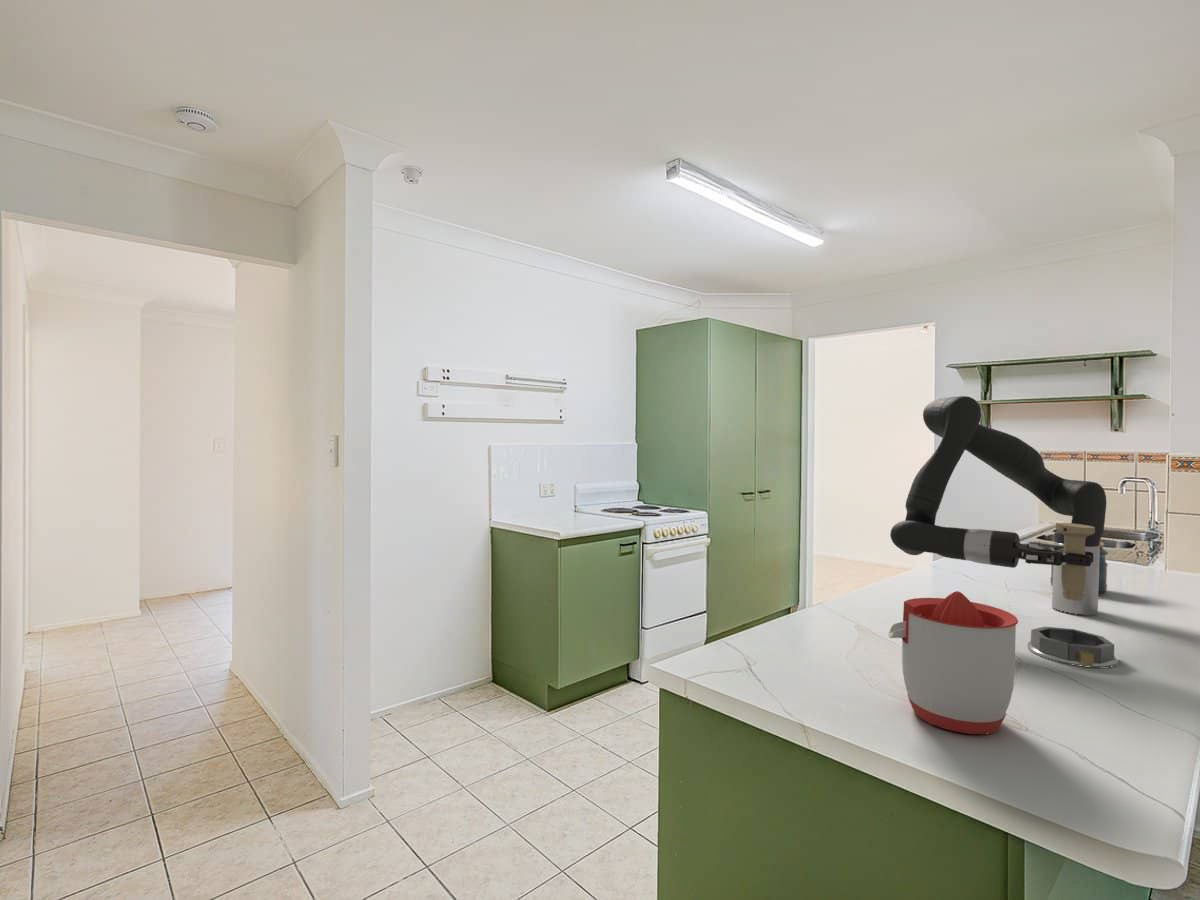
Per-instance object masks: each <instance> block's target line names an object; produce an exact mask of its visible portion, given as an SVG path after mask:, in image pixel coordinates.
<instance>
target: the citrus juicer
mask: <svg viewBox="0 0 1200 900" xmlns="http://www.w3.org/2000/svg"><path fill="white" fill-rule="evenodd" d="M902 612H903V613H902V615H903V616H902V621H899V622H895V623H893V624H892V626H891V627H890V630H889V632H888V638H889V639H902V642H901V643H902V644H901V646H902V647H901V648H902V649H901V662H902V663H901V665H902V667H901V668H902V675H903V681H904V685H905V689H906V692H907V698H908V700H909V704H910V705H911V708H912V710H913V713H915V715H917V716H918V718H920V719H921V720H923V721H925V722H928V723H929V724H928V723H927V724H928V725H930V724H932V725H935V726H934V727H937V726H938V727H939V728H942V729H943V730H944V729H945V730H948V731H952V732H956V733H963V734H970V735H984V734H987V733H989V734H993V733H994V732H996V731H998V730H999V728H1000V727H1001V726H1002V723H1003V721H1004V719H1005V718H1006V715H1007V710H1008V708H1009V705H1010V703H1011V699H1012V696H1013V695H1012V694H1013V691H1014V684H1015V673H1016V671H1015V669H1016V666H1015V665H1016V662H1015V661H1016V630H1017V629H1016V628H1017V625H1018V623H1019V620H1018V618H1017V616H1015V614H1013V613H1010V612H1009V611H1007V610H1004V609H1001V608H999V607H998V608H997V607H995V606H993V605H987V604H984V603H977V602H975V601H970V600H969V598H968V597H967V596H966V595H965V594H963V593H962V592H961V591H958V590H957V591H954V592H951V593H950V594H948V595H947V596H946V597H944V598H943V597H916V598H911V599H906V600H904V601H903V611H902ZM932 725H931V726H932ZM987 735H988V734H987Z"/></svg>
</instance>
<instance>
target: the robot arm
mask: <svg viewBox="0 0 1200 900" xmlns="http://www.w3.org/2000/svg"><path fill="white" fill-rule="evenodd" d="M922 418H923V419H922V420H923V422H924V424H925V426H926V427H927V428H928V430H929V431H930V432H931V433H933V434H934V435H936V436H938V437H940V438H941V440H940V443H939V445H938V447H936V450H935V451H934V453H932V455H931V456H930V457H929V459H928V460H927V461H926V462H925V463H924V464H923V466H921V468H920V469H919V470H918V472H917V474H916V475H915V477H914V478H913V481H912V483H911V487H910V489H909V491H908V494H907V497H906V501H905V509H906V515H905V516H906V517H905V519H904V520H901V521H899V522H897V523H896V524H894V525H893V526H892V527H891V529H890V534H889V535H890V536H889V537H890V539H891V541H892V543H893V544H894V546H895V547H896V548H898V549H900V550H901V551H902V552H904V554H905V553H906V554H907V555H911V556H919V555H922V554H923V553H931V554H937V555H939V556H940V557H944V558H946V559H947V558H948V559H955V560H961V561H967V562H972V563H977V564H983V565H990V566H998V567H1004V568H1010V569H1011V568H1013V569H1014V568H1015V569H1016V567H1017V566H1018V565H1019V560H1024V561H1025V563H1026V564H1030V565H1031V564H1037V565H1049V566H1051V565H1053V587H1052V594H1051V595H1052V597H1051V608H1052V607H1053V608H1052V609H1054V608H1055V609H1054V610H1056V609H1057V610H1056V611H1058V610H1060V611H1059V612H1062V611H1064V612H1063V613H1066V612H1069V613H1068V614H1071V613H1075V614H1074V615H1077V614H1084V615H1083V616H1096V614H1097V615H1098V613H1099V612H1098V611H1099V595H1098V590H1099V555H1100V541H1101V539H1102V536H1103V534H1104V531H1105V523H1106V511H1107V497H1106V496H1107V495H1106V491H1105V490H1104V488H1103V487H1102V485H1101V484H1100V483H1098V482H1094V481H1090V480H1089V481H1086V480H1076V479H1075V480H1074V479H1067V478H1063V477H1061V476H1058V475H1057V474H1055V473H1053V472H1052V471H1050V470H1048V468H1046V467H1045V463H1044V459H1043V457H1042V455H1041V454H1040V453H1039V451H1038V450H1037V449H1035V448H1034V447H1033V446H1031V445H1029V444H1028V443H1027V442H1025V441H1023V440H1022V439H1021V438H1020V437H1019V438H1018V437H1017V436H1014V435H1012V434H1009V433H1007V432H1004V431H1000V430H998V429H994V428H991V427H987V426H986V425H983V424H980V422H981V418H982V410H981V406H980V404H979V402H978V401H977V400H976V399H974V398H973V397H971V396H967V395H966V396H965V395H962V396H961V395H960V396H949V397H943V398H938V399H934V400H932V401H930V402H928V403H927V404H926V406H925V407H924V409H923V412H922ZM965 451H966V452H968V453H970V454H971V455H973V456H974V457H976V458H977V459H979V460H980V461H982V462H983V463H985V464H987V465H988V466H989V467H991V468H992V469H993V470H995V471H996V472H998V473H999V474H1000V475H1002V476H1004V477H1005V478H1007V479H1009V480H1011V481H1013V482H1014V483H1015V484H1017V485H1018V486H1020V487H1022V488H1023V489H1025V490H1027V491H1028V492H1030V493H1031V494H1032V495H1034V496H1035V497H1036V498H1037V499H1039V500H1040V502H1042V503H1044V504H1045V506H1047V507H1048V509H1050V510H1052V511H1053V512H1055V513H1057V514H1060V515H1063V516H1068V517H1071V522H1070V523H1072V524H1081V525H1088V526H1092V527H1095V533H1094V534H1092V535H1090V536H1087V537H1086V538H1085V554H1076V553H1068V554H1067V552H1065V551H1063V550H1064V535H1063V534H1062V533H1061V532H1059V531H1058V530H1057V529H1056V530H1055V531H1054V534H1053V544H1049V543H1043V542H1039V541H1038V542H1037V541H1029V542H1028V543H1021V542H1020V536H1019V534H1018V533H1017V532H1013V531H1001V530H993V529H983V528H982V529H981V528H978V529H977V528H976V529H975V528H973V529H972V528H963V527H962V528H961V527H951V526H940V525H937V524H936V517H937V513H938V511H939V509H940V505H941V503H942V501H943V498H944V494H945V492H946V488H947V486H948V484H949V481H950V478H951V477H952V474H953V472H954V471H955V468H956V467H957V465H958V464H959V461H960V459H961V458H962V456H963V454H964V452H965ZM1066 563H1067V564H1072V565H1080V566H1086V578H1085V579H1086V581H1085V588H1084V592H1082V594H1084V596H1083V600H1078V601H1075V600H1069V599H1066V598H1065V597H1063V593H1062V591H1064V590H1063V589H1062V580H1061V579H1062V578H1061V576H1062V575H1061V573H1062V572H1061V570H1062V565H1066Z"/></svg>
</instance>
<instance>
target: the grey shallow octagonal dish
mask: <svg viewBox="0 0 1200 900" xmlns="http://www.w3.org/2000/svg"><path fill="white" fill-rule="evenodd" d="M1027 649H1028V651H1030V652H1031V653H1032V654H1035V655H1036V656H1038V655H1039V657H1041V656H1042V657H1041V658H1043V657H1045V658H1044V659H1046V658H1048V659H1047V660H1049V659H1051V660H1050V661H1052V660H1055V661H1054V662H1056V661H1058V662H1057V663H1060V662H1063V663H1062V664H1064V663H1068V664H1067V665H1069V664H1074V665H1082V666H1090V667H1110V668H1112V667H1111V666H1114V665H1116V664H1117V665H1118V659H1117V657H1116V656H1115V644H1114V643H1113V642H1111V641H1110V640H1108V639H1107V638H1105V637H1104V636H1102V635H1098V634H1094V633H1092V632H1091V633H1090V632H1086V631H1082V630H1078V629H1075V628H1066V627H1052V626H1042V627H1037V628H1033V629H1031V630H1030V641H1028V643H1027ZM1074 665H1073V666H1074ZM1117 665H1116V666H1117ZM1114 667H1115V666H1114Z"/></svg>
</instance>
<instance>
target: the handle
mask: <svg viewBox="0 0 1200 900" xmlns="http://www.w3.org/2000/svg"><path fill="white" fill-rule="evenodd" d="M1055 530H1056V531H1057V530H1058V531H1059V532H1061V533H1062V534H1063V535H1064V550H1063V551H1065V552H1067V554H1068V553H1076V554H1085V538H1086V537H1087V536H1090V535H1092V534H1094V533H1095V527H1092V526H1088V525H1081V524H1072V523H1071V522H1056V523H1055ZM1061 572H1062V573H1061V575H1062V576H1061V578H1062V579H1061V580H1062V589H1063V590H1064V591H1062V593H1063V597H1065V598H1066V599H1069V600H1075V601H1078V600H1083V596H1084V594H1082V592H1084V588H1085V581H1086V579H1085V578H1086V566H1080V565H1072V564H1067V563H1066V565H1062V570H1061Z"/></svg>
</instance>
